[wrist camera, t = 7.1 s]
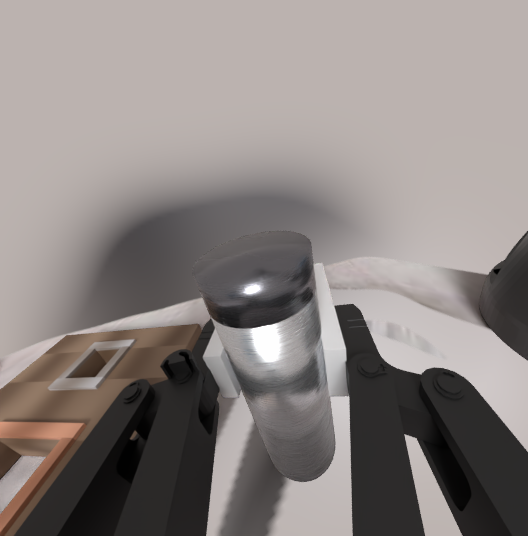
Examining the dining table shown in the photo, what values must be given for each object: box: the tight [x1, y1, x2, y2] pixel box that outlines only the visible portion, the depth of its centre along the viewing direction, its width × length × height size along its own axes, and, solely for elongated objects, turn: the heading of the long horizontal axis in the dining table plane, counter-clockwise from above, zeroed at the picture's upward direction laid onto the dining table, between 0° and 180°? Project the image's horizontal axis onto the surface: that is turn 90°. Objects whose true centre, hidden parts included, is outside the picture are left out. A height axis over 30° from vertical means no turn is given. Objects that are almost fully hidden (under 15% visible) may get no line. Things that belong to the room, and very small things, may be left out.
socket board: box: [0, 324, 202, 536], centre depth 15 cm, size 16×17×3 cm
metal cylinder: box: [192, 231, 335, 482], centre depth 10 cm, size 4×4×12 cm
